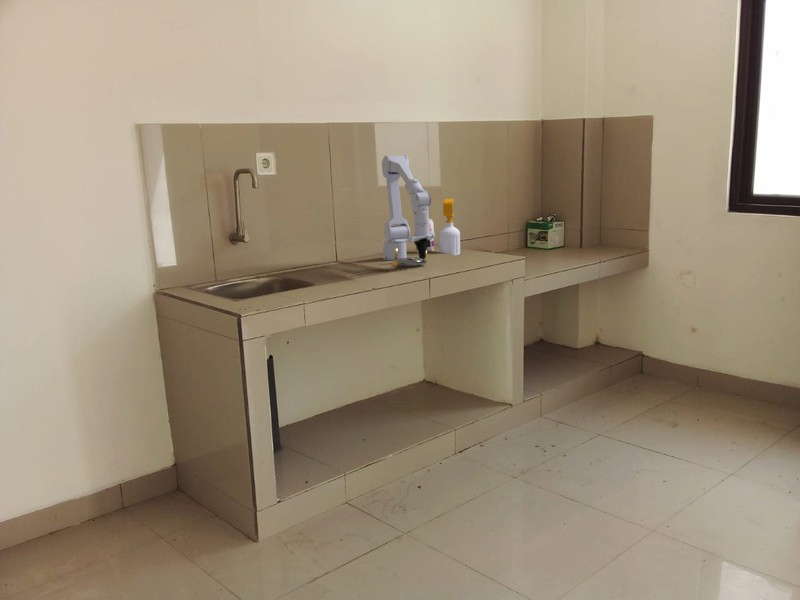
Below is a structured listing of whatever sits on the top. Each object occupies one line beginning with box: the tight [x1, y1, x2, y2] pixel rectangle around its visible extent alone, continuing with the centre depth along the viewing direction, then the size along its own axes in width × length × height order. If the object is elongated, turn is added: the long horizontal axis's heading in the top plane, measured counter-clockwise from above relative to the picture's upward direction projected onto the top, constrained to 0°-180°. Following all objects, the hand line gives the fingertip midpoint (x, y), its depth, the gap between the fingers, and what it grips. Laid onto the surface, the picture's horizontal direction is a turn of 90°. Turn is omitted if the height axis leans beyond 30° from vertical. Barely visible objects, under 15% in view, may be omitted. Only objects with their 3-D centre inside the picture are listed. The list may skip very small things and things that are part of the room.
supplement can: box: [415, 218, 435, 253], centre depth 307 cm, size 8×8×15 cm
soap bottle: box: [438, 198, 461, 257], centre depth 297 cm, size 9×9×25 cm
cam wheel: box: [391, 248, 428, 268], centre depth 268 cm, size 16×17×6 cm
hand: (422, 258), depth 265 cm, fingers closed
